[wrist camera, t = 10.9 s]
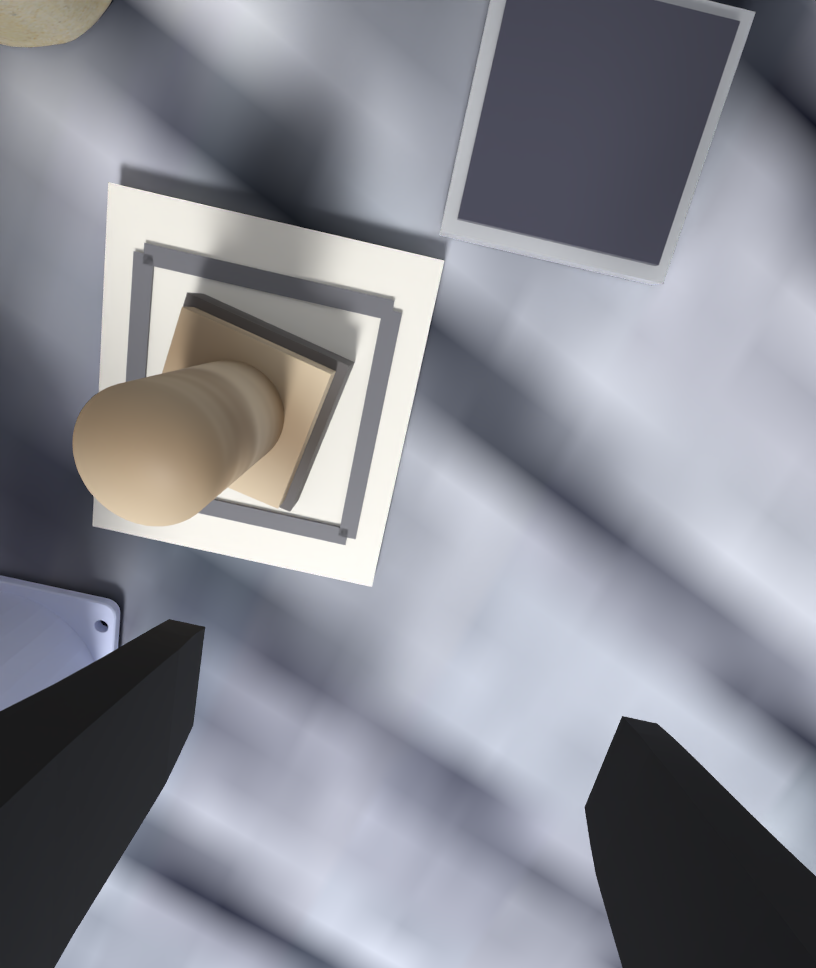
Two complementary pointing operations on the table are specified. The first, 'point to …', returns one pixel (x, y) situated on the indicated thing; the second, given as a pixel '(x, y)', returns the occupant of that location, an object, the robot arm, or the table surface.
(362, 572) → the print card
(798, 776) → the table surface
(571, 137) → the ink pad
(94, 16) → the flower pot
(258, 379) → the stamp
